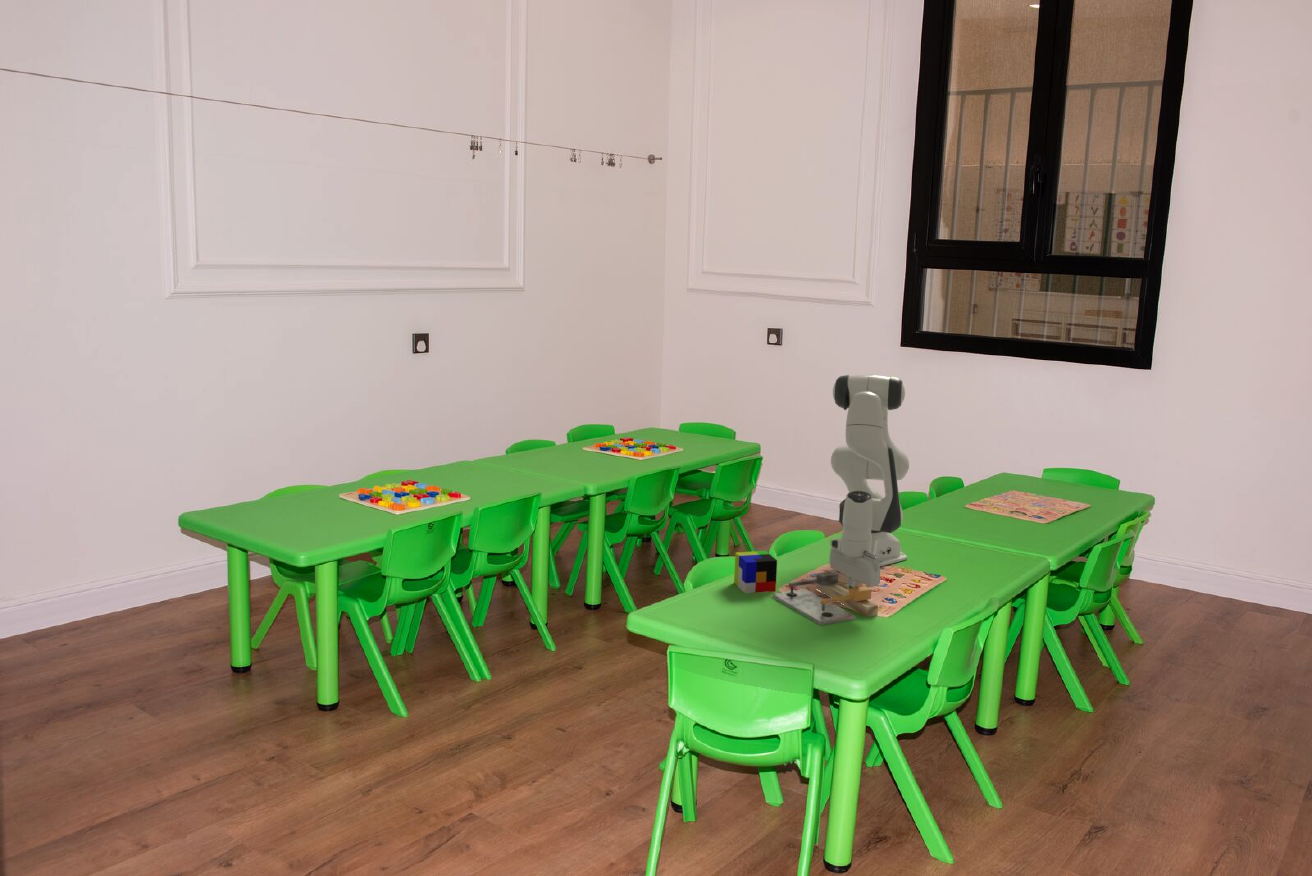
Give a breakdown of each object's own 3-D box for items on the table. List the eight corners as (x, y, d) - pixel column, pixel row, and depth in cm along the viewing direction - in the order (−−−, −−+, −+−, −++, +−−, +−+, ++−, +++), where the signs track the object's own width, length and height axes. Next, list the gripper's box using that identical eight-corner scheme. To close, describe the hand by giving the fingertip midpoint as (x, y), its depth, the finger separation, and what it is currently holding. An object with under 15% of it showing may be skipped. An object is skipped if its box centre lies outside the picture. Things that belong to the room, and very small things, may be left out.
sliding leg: (864, 601, 310) (865, 586, 309) (870, 604, 308) (871, 589, 307) (817, 609, 303) (818, 593, 302) (823, 612, 300) (824, 597, 299)
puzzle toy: (745, 593, 319) (746, 562, 317) (734, 583, 328) (735, 552, 326) (775, 591, 322) (777, 560, 320) (763, 581, 331) (765, 550, 329)
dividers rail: (828, 588, 326) (829, 569, 325) (880, 614, 304) (881, 595, 303) (783, 595, 318) (784, 576, 317) (832, 623, 296) (833, 603, 295)
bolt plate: (805, 591, 322) (805, 588, 321) (855, 619, 300) (855, 615, 300) (772, 597, 316) (772, 593, 316) (821, 625, 295) (821, 621, 294)
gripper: (887, 555, 299) (883, 601, 302) (844, 536, 317) (841, 580, 320) (869, 558, 296) (866, 604, 299) (826, 538, 314) (824, 582, 317)
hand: (853, 591), depth 309 cm, fingers closed
